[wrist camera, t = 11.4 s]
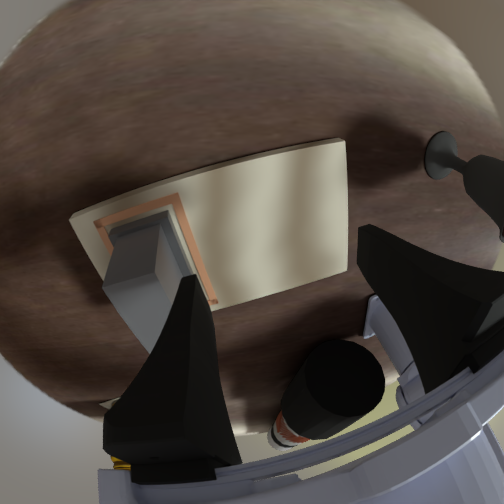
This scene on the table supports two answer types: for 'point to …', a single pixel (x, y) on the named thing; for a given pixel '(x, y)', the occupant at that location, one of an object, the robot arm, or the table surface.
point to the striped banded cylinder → (328, 394)
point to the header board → (239, 221)
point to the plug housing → (143, 282)
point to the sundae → (470, 175)
